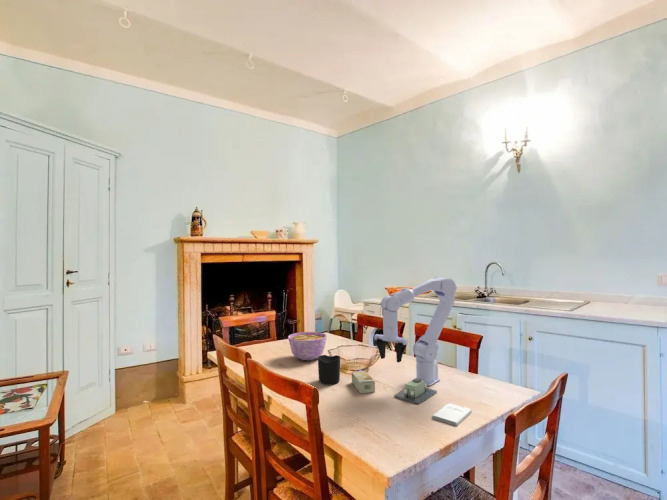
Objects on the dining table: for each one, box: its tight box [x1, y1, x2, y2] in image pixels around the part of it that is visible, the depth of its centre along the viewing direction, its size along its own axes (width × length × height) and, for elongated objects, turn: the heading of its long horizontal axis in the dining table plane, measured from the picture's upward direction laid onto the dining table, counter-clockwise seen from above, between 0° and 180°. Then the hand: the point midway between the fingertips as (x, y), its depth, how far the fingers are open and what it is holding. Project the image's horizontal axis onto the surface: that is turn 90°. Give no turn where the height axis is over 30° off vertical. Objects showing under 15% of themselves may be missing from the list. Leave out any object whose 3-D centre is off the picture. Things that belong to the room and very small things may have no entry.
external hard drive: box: [431, 402, 473, 427], centre depth 117 cm, size 2×8×12 cm
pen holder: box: [317, 354, 341, 386], centre depth 151 cm, size 9×9×10 cm
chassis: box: [393, 383, 438, 405], centre depth 134 cm, size 14×10×3 cm
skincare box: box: [351, 370, 376, 394], centre depth 143 cm, size 6×4×12 cm
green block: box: [404, 377, 425, 397], centre depth 134 cm, size 7×4×5 cm, turn 138°
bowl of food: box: [287, 331, 328, 361], centre depth 184 cm, size 20×20×12 cm
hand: (390, 360), depth 144 cm, fingers open, 7 cm apart
